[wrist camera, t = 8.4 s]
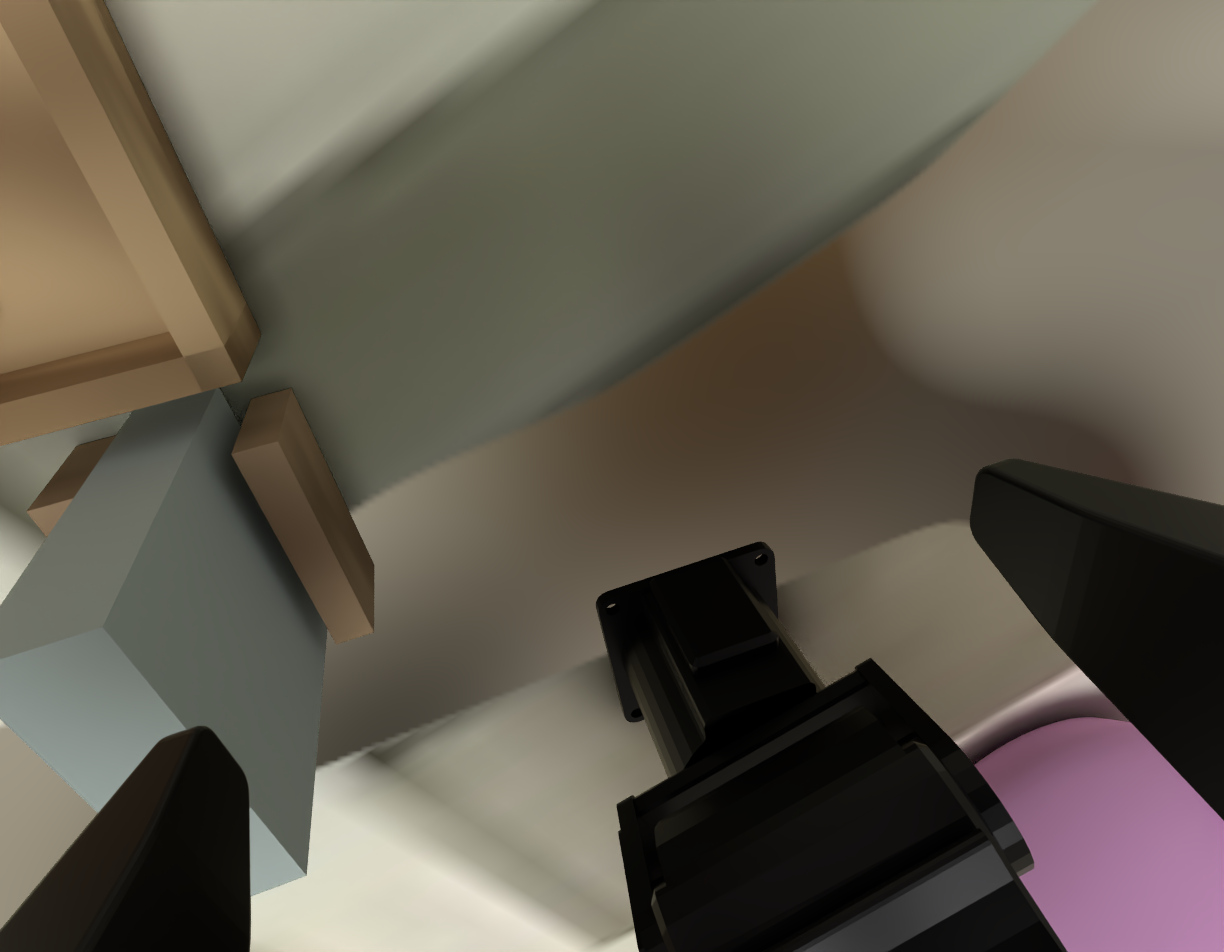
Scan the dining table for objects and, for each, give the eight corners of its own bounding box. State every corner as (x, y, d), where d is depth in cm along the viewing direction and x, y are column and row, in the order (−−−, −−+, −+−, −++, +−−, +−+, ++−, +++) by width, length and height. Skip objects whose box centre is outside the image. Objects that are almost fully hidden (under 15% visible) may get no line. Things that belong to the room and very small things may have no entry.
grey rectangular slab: (330, 590, 21) (306, 875, 14) (263, 612, 21) (202, 914, 14) (218, 385, 18) (103, 627, 10) (134, 408, 17) (-46, 674, 10)
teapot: (1019, 916, 50) (1208, 1169, 39) (797, 912, 41) (962, 1249, 29) (1257, 693, 43) (1576, 925, 32) (1056, 622, 33) (1412, 922, 22)
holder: (374, 565, 21) (373, 632, 19) (196, 620, 21) (171, 697, 18) (291, 388, 18) (277, 441, 16) (76, 446, 17) (27, 511, 15)
